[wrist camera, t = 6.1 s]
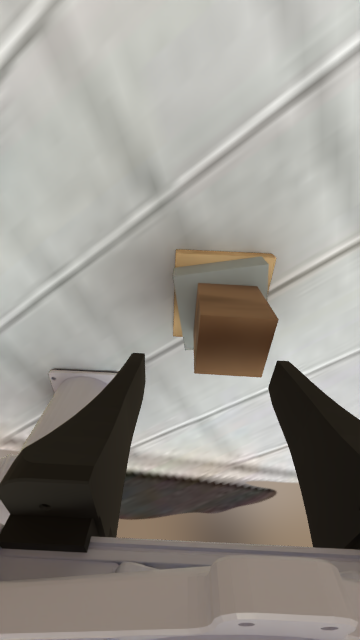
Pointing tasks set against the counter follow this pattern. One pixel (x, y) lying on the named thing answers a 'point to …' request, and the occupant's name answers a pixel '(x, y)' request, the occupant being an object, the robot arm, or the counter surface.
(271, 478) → the counter surface
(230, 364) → the walnut block
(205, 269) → the gray slab
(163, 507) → the counter surface
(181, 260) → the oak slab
